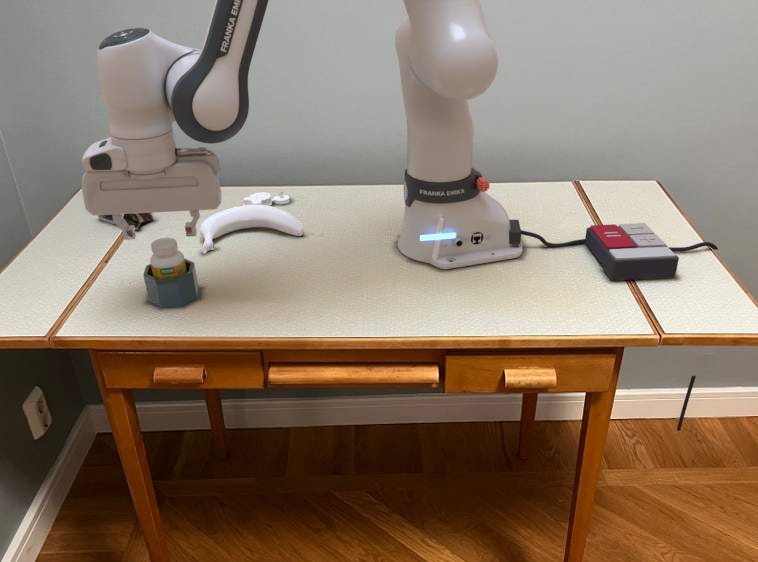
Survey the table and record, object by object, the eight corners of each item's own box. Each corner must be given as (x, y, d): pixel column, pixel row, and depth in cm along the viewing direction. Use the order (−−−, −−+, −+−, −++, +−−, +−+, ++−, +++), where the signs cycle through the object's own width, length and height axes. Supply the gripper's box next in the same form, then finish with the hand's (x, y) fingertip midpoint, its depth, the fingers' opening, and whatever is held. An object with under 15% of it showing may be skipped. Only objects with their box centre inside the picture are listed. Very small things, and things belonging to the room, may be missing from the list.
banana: (309, 225, 145) (289, 259, 133) (217, 224, 148) (190, 257, 136) (306, 201, 142) (286, 234, 130) (212, 201, 145) (184, 233, 134)
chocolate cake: (168, 221, 149) (140, 170, 149) (141, 224, 143) (112, 170, 144) (143, 246, 154) (116, 196, 155) (116, 250, 148) (88, 198, 149)
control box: (646, 220, 134) (681, 253, 122) (642, 242, 137) (675, 277, 124) (586, 223, 134) (614, 257, 121) (583, 245, 136) (610, 280, 123)
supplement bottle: (184, 284, 126) (174, 232, 121) (195, 297, 122) (186, 244, 117) (153, 293, 124) (142, 240, 118) (164, 307, 120) (153, 253, 115)
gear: (272, 217, 148) (271, 207, 147) (234, 212, 151) (233, 202, 150) (292, 199, 156) (291, 189, 154) (255, 195, 158) (254, 185, 157)
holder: (200, 282, 126) (195, 256, 124) (196, 305, 120) (191, 278, 117) (153, 285, 126) (148, 259, 123) (147, 309, 120) (140, 281, 117)
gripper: (218, 140, 112) (229, 224, 120) (79, 146, 111) (100, 231, 119) (215, 153, 107) (226, 241, 115) (70, 160, 106) (91, 248, 114)
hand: (161, 236), depth 117 cm, fingers open, 8 cm apart
